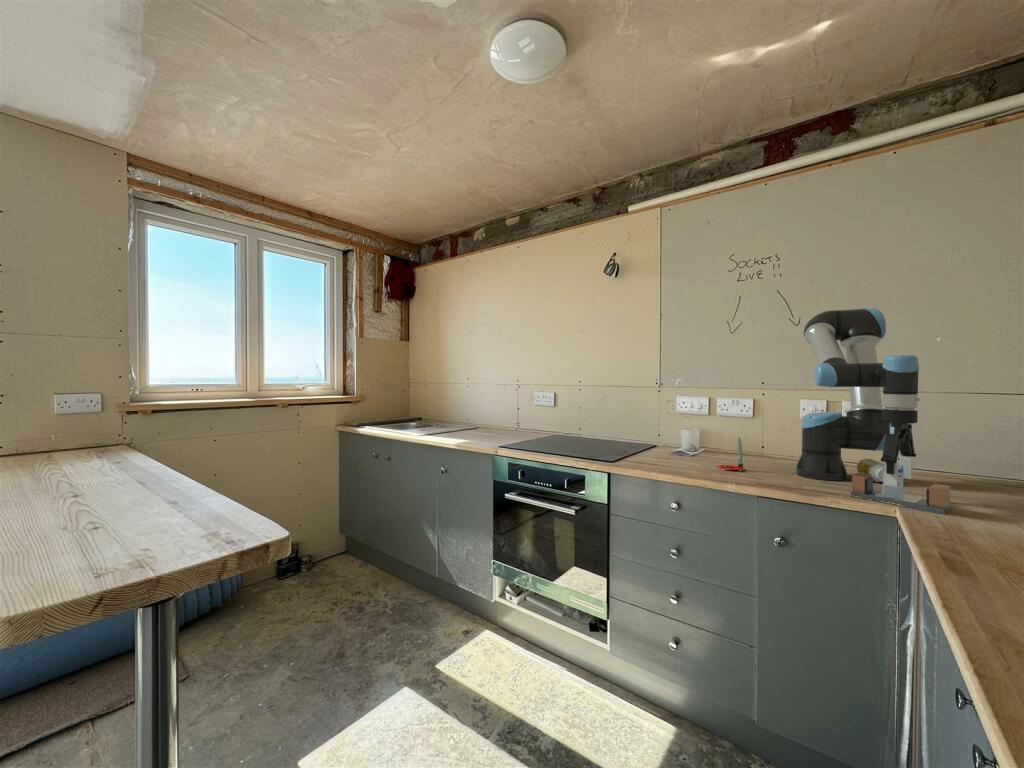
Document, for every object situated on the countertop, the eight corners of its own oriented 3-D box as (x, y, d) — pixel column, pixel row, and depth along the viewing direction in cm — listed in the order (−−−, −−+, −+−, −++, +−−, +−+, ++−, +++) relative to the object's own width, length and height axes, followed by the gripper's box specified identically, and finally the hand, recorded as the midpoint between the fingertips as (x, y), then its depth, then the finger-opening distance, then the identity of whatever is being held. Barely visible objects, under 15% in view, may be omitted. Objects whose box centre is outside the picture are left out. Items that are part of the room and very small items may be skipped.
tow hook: (716, 471, 165) (743, 472, 160) (714, 438, 165) (741, 438, 160) (717, 467, 172) (743, 468, 167) (716, 435, 172) (741, 436, 168)
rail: (850, 496, 128) (851, 475, 128) (860, 492, 133) (860, 471, 133) (943, 514, 112) (943, 490, 112) (950, 508, 116) (951, 485, 116)
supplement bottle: (862, 479, 154) (880, 488, 142) (852, 463, 155) (869, 470, 143) (882, 471, 152) (902, 480, 140) (871, 455, 153) (890, 462, 141)
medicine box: (882, 491, 128) (883, 463, 127) (903, 494, 125) (903, 465, 125) (882, 497, 122) (882, 467, 122) (903, 500, 119) (903, 469, 119)
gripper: (904, 412, 112) (902, 491, 112) (929, 407, 126) (927, 477, 126) (868, 410, 118) (867, 485, 118) (896, 405, 132) (894, 473, 132)
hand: (898, 481), depth 122 cm, fingers open, 13 cm apart
